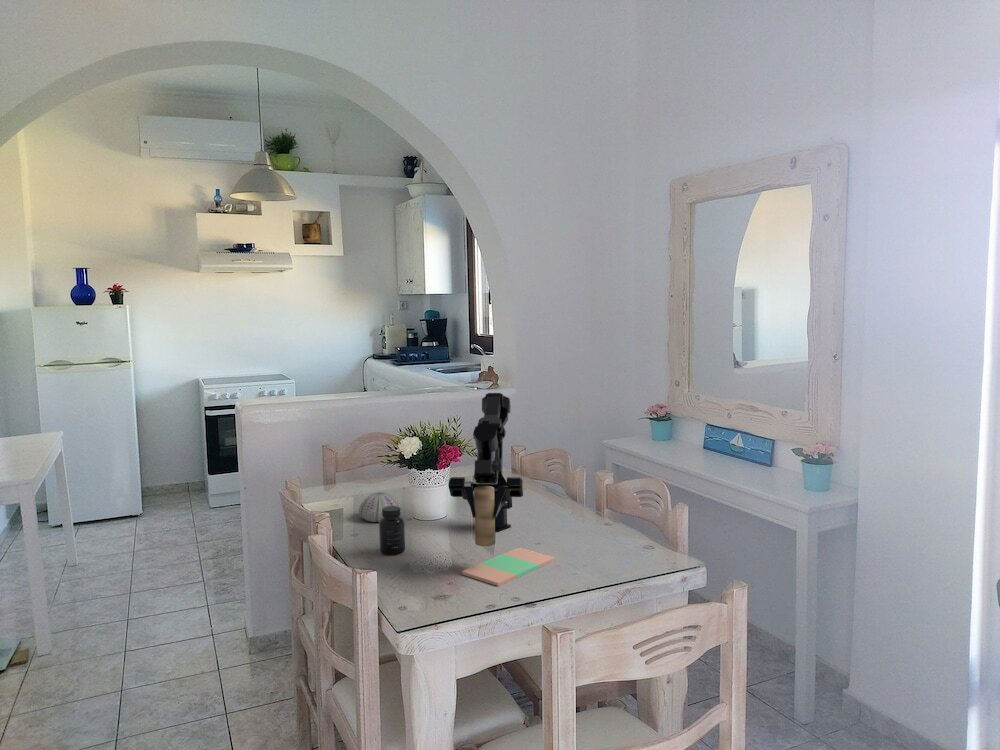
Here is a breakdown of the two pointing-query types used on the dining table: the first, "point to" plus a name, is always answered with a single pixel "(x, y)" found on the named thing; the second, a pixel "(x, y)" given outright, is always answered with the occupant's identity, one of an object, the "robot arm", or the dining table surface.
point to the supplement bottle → (391, 531)
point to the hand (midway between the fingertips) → (484, 517)
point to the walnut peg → (484, 515)
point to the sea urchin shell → (377, 506)
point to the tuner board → (508, 566)
